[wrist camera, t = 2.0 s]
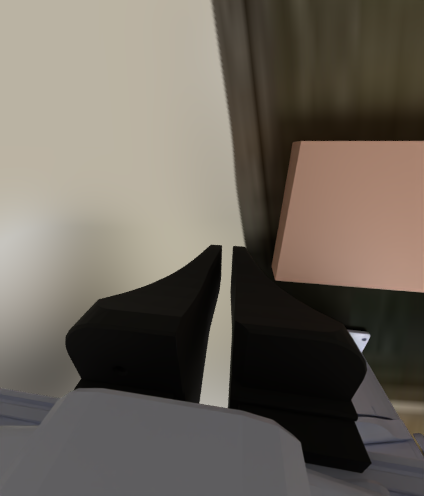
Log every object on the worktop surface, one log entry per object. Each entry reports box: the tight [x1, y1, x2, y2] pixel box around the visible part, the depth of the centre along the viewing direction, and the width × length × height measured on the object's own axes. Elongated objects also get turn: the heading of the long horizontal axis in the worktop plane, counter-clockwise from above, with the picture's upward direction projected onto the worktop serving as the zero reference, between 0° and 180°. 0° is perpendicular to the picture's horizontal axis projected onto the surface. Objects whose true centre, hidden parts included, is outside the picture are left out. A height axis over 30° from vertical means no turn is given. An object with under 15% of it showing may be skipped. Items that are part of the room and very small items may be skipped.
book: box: [272, 141, 424, 292], centre depth 17 cm, size 12×15×3 cm
